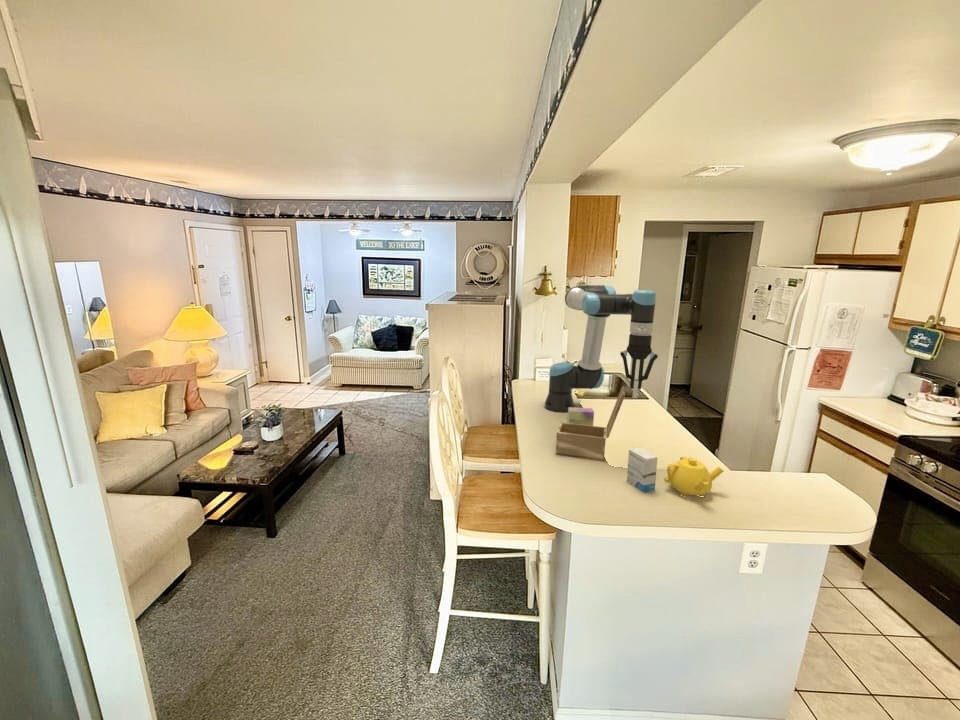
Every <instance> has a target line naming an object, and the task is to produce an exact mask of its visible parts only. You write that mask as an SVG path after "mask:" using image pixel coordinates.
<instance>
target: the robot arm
mask: <svg viewBox="0 0 960 720" xmlns="http://www.w3.org/2000/svg"><path fill="white" fill-rule="evenodd" d="M564 302H565V305H566V306H567V307H568V308H569V309H572V310H576V311H582V312H583V314H585V315H587V321H586V326H585V327H586V328H585V335H584V340H583V341H584V342H583V348H582V354H581V359H580V360H578V362H577V365H574V363H572V362H557V363H554V364H552V365H551V366H550V368H549V374H548V375H549V382H548V383H549V384H548V393H547V396H546V399H545V401H544V408H545V409H547V411H552V412H555V413H556V412H557V413H568V407H574V408H575V402H574V398H573V394H572V393H573V389H575V390H576V389H580V390H581V389H584V390H585V389H589V390H592V389H598V388H600V387H601V386H602V385H603V382H604V378H605V375H604V374H605V369H604V368H603V366H602V364H601V362H600V358H601V353H602V346H603V340H604V335H605V328H606V323H607V319H608V318H609V317H611V315H621V316H622V315H626V316H628V315H630V322H629V324H630V325H629V333H630V334H629V336H628V345H627V347H626V349H625V350H622V351H620V353H619V355H620V357H621V358H622V361H623V366H624V373H625V378H626V379H629V380H630V384H629V387H630V389H632V399H638V392H639V390H641V389H642V384H643V383H642V382H643V381H645V380H648V378H649V376H650V373H651V370H652V368H653V365H654V364H655V363H654V362H655V361H656V360H657V359H658V357H659V355H658V354H657V353H655V352H654V351H653V350H652V337H653V336H652V334H653V326H654V317H655V309H656V303H657V301H656V292H655V291H654V290H648V289H647V290H645V289H644V290H643V289H642V290H641V289H636V290H634V291H633V293H626V294H625V293H624V294H621V293H620V294H619V293H618V294H617V291H616V289H615V288H614V287H613V286H612V285H605V284H602V285H599V284H598V285H597V284H596V285H595V284H594V285H587V284H583V285H582V284H581V285H575V286H573V287H570V288H569V289H568V290H567V291H566V293H565V295H564ZM628 355H629V356H630V358H631V359H632V362H631V373H629V372H630V371H629V364H628V360H627V359H628V358H627V357H628ZM648 357H650V358H649V361H648V363H647V367H646V369H645V371H644V363H645V360H646V359H647V358H648ZM637 360H639V364H638V365H639V368H638V374H637V375H638V378H637V379H635V377H636V366H637ZM643 373H644V374H643Z"/></svg>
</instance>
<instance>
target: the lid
mask: <svg viewBox="0 0 960 720" xmlns="http://www.w3.org/2000/svg"><path fill="white" fill-rule="evenodd" d="M619 391H620V392H619V394H618V396H617V399H616V402H615V404H614V407H613V409H612V411H611V414H610V417H609V419H608V422H607V424H606V439H609V437H610V434H611V433H612V429H613V427H614V424H615V422H616V419H617V417H618V414H619V412H620V409H621V407H622V404H623V402H624V399H625V397H626V390H625V386H621V388H620V390H619Z"/></svg>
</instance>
